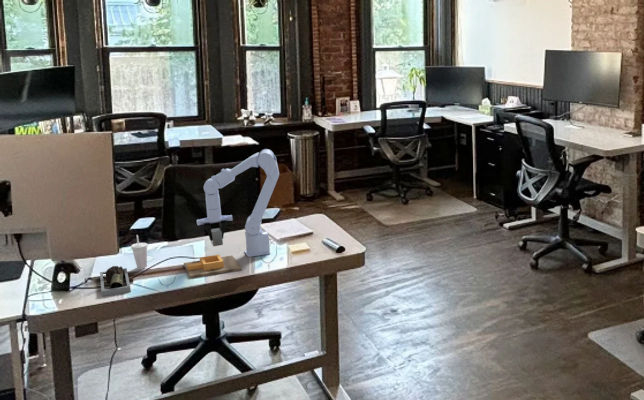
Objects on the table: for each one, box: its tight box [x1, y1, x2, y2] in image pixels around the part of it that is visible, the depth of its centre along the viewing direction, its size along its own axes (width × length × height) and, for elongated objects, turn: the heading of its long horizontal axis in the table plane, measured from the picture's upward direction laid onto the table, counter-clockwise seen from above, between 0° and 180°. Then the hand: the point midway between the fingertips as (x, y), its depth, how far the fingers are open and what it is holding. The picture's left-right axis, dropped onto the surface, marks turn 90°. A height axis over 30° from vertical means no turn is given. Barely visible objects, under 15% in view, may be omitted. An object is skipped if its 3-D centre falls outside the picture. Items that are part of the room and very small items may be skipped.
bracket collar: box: [187, 254, 224, 270], centre depth 252 cm, size 13×9×2 cm, turn 110°
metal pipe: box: [105, 265, 125, 289], centre depth 240 cm, size 18×7×6 cm, turn 15°
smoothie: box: [130, 234, 149, 270], centre depth 255 cm, size 6×6×14 cm
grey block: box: [210, 227, 224, 247], centre depth 266 cm, size 4×5×6 cm
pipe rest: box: [99, 267, 132, 297], centre depth 240 cm, size 10×21×2 cm, turn 20°
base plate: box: [183, 254, 242, 279], centre depth 253 cm, size 20×16×1 cm
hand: (216, 239), depth 266 cm, fingers closed on grey block, 4 cm apart
